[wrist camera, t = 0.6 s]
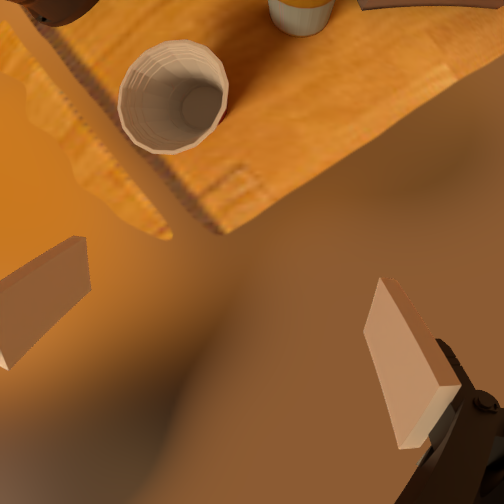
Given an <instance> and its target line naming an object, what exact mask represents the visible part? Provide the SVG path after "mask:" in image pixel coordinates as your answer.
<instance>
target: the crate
mask: <svg viewBox="0 0 504 504" xmlns="http://www.w3.org/2000/svg"><path fill="white" fill-rule="evenodd" d="M357 1H358V3H359V5H360V7H361V10H362V11H365V10H373V9H383V8H395V7H411V6H463V7H479V8H490V9H498V8H500V7H502V6H504V0H357Z"/></svg>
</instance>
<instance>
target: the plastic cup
mask: <svg viewBox="0 0 504 504" xmlns="http://www.w3.org/2000/svg"><path fill="white" fill-rule="evenodd" d="M228 89H229V82H228V79H227V76H226V73H225V70H224V67H223V64H222V62H221V61H220V60H219V58H218V57H217V56H216V55H215V54H214V53H213V52H212V51H211V50H210V49H209V48H208V47H207V46H204V45H201V44H198V43H195V42H193V41H190V40H174V41H165V42H163V43H161V44H158V45H156V46H154V47H152V48H150V49H148V50H146V51H145V52H144V53H143V54H142V55H141V56H140V57H139V58H138V59H137V60H136V61H135V62H134V63H133V64H132V65H131V66H130V67H129V69H128V71H127V73H126V75H125V77H124V79H123V81H122V83H121V86H120V90H119V98H118V108H117V109H118V112H119V116H120V120H121V124H122V128H123V129H124V131H125V132H126V133H127V135H128V136H129V137H130V139H131V140H132V141H133V142H134V144H136V145H137V146H139V147H141V148H143V149H145V150H147V151H149V152H151V153H153V154H172V155H174V154H177V153H180V152H182V151H185V150H188V149H191V148H193V147H196V146H197V145H198V144H199V143H200V142H202V141H203V140H204V139H205V138H206V137H207V136H208V135H209V134H211V133H212V132H213V131H214V130H215V129H216V127H217V126H218V125H219V124H220V123H221V122H222V120H223V119H224V117H225V115H226V113H227V101H228V99H227V98H228Z"/></svg>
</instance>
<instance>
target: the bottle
mask: <svg viewBox="0 0 504 504" xmlns="http://www.w3.org/2000/svg"><path fill="white" fill-rule="evenodd" d="M334 3H335V0H268V4H269V11H270V16H271V19H272V21H273V23H274V25H275V26H276V27H277V28H278V29H279V30H280V31H282V32H284V33H286V34H287V35H291V36H294V37H309V36H312V35H315V34H317V33H319V32H320V31H322V30H323V28H324V27H325V26H326V24H327V22H328V20H329V17H330V14H331V11H332V8H333V5H334Z"/></svg>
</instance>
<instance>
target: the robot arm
mask: <svg viewBox="0 0 504 504" xmlns="http://www.w3.org/2000/svg"><path fill="white" fill-rule="evenodd" d="M7 1H11V2H14V3H18V4H21V5H23V6H24V8H25V9H26V10H27V11H28V12H29V13H30V14H31V15H32V16H33V17H34V18H35V19H36V20H37V21H38V22H40V23H42V24H45V25H48V26H52V27H59V26H63V25H66V24H69V23H71V22H73V21H75V20H77V19H78V18H80V17H81V16H82V15H84V14H85V13H86V12H87V11H89V10H90V9H91V8H92V7H93V6H94V5H95V4H96V3H97V1H98V0H7ZM90 291H91V284H90V276H89V267H88V258H87V246H86V238H85V237H79V236H72V237H70V238H69V239H67V240H65V241H63V242H62V243H60V244H58V245H57V246H55V247H53V248H52V249H50V250H48V251H46V252H45V253H43V254H41V255H40V256H38V257H37V258H35V259H33V260H32V261H30V262H28V263H27V264H25V265H24V266H22V267H21V268H19V269H18V270H16V271H14V272H13V273H11V274H10V275H8V276H7V277H5V278H4V279H2V280H1V281H0V366H1V367H3V368H5V369H6V370H8V371H9V370H10V369H11V368H12V367H13V366H14V365H15V364H16V363H17V362H18V361H19V360H20V359H21V358H22V357H23V356H24V355H25V353H26V352H27V351H28V350H29V349H30V348H31V347H32V346H33V345H34V344H35V343H36V342H37V341H38V340H39V339H40V338H41V337H42V336H43V335H44V334H45V333H46V332H47V331H48V330H49V329H50V328H52V327H53V326H54V325H55V324H56V323H57V322H58V321H59V320H60V319H61V318H62V317H63V316H64V315H65V314H66V313H67V312H68V311H69V310H70V309H71V308H72V307H73V306H75V305H76V304H77V303H78V302H79V301H80V300H81V299H82V298H83V297H84V296H85V295H86V294H88V293H89V292H90ZM363 332H364V335H365V338H366V341H367V344H368V347H369V350H370V353H371V356H372V359H373V362H374V365H375V368H376V371H377V375H378V378H379V381H380V384H381V387H382V391H383V394H384V397H385V401H386V404H387V408H388V411H389V415H390V418H391V422H392V426H393V429H394V433H395V437H396V440H397V444H398V447H399V449H408V448H419V447H420V446H421V445H422V444H423V442H424V441H425V440H426V438H427V437H428V436H429V438H430V441H431V444H432V445H431V446H430V448H429V449H428V450H427V451H426V453H425V454H424V455H423V456H422V458H421V459H420V460H419V461H418V462H417V464H416V465H418V467H417V469H416V471H415V472H414V474H413V476H412V477H411V479H410V481H409V482H408V484H407V485H406V487H405V488H404V490H403V491H402V493H401V494H400V496H399V497H398V499H397V500H396V502H395V503H394V504H504V408H500V405H499V403H498V401H497V400H496V399H495V398H494V397H493V396H492V395H490V394H489V393H487V392H485V391H482V390H475V388H474V386H473V384H472V383H471V381H470V379H469V377H468V376H467V374H466V372H465V371H464V369H463V367H462V366H460V362H459V361H458V359H457V358H455V357H456V356H455V354H454V353H453V351H452V350H451V348H450V347H449V346H448V345H447V344H446V343H445V342H443V341H442V340H441V339H435V338H434V337H433V335H432V333H431V332H430V330H429V329H428V327H427V325H426V324H425V322H424V321H423V319H422V318H421V316H420V315H419V313H418V311H417V310H416V309H415V307H414V305H413V304H412V302H411V301H410V300H409V298H408V297H407V295H406V293H405V292H404V290H403V289H402V287H401V286H400V285H399V283H398V282H397V280H396V279H392V278H384V277H380V278H379V281H378V285H377V288H376V292H375V295H374V299H373V302H372V305H371V309H370V312H369V315H368V318H367V322H366V325H365V328H364V331H363Z"/></svg>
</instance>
